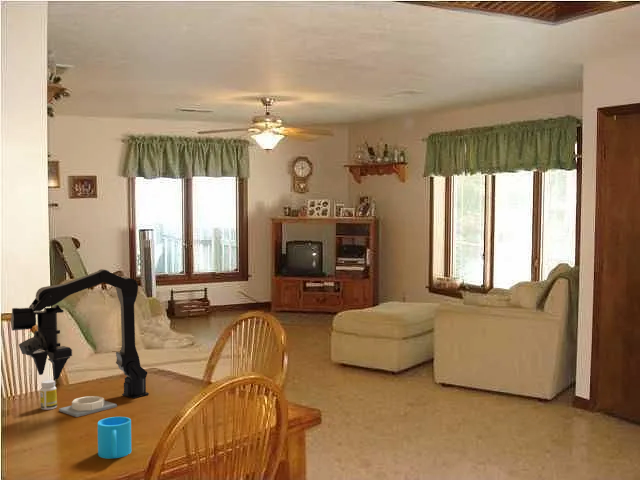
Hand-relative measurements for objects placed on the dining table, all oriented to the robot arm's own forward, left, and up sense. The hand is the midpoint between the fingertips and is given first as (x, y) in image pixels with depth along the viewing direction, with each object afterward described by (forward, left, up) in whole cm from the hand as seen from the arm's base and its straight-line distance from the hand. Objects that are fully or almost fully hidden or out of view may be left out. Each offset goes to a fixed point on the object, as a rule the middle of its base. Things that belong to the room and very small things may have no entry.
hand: (48, 376), depth 215 cm
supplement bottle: (0, 0, -10) cm, 10 cm away
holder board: (-7, +11, -10) cm, 16 cm away
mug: (+12, +53, -10) cm, 55 cm away
